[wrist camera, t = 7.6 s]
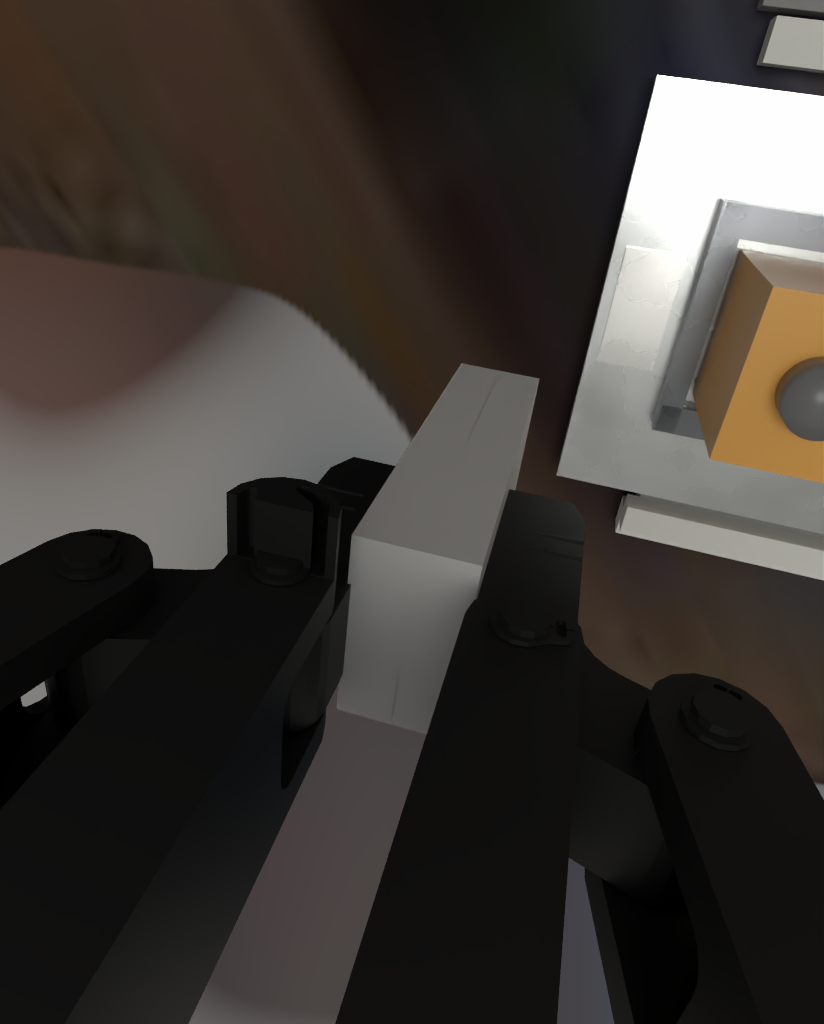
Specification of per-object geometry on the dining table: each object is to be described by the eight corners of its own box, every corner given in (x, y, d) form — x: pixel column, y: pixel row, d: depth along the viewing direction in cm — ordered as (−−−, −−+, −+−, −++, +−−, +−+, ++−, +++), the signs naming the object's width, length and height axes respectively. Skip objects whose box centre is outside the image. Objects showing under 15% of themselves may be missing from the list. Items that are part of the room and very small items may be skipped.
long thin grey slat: (615, 518, 32) (615, 546, 30) (631, 466, 30) (632, 491, 28) (971, 600, 29) (998, 635, 27) (1006, 547, 28) (1036, 580, 26)
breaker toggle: (692, 392, 26) (713, 473, 20) (740, 250, 24) (780, 294, 18) (807, 415, 25) (863, 506, 20) (869, 271, 23) (956, 324, 17)
